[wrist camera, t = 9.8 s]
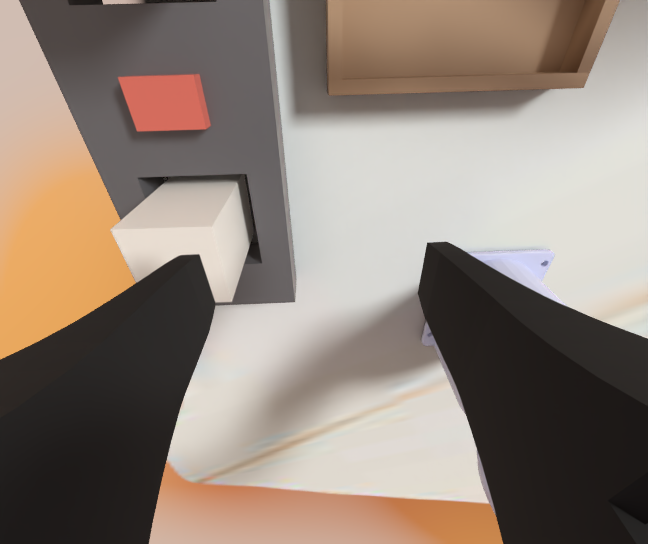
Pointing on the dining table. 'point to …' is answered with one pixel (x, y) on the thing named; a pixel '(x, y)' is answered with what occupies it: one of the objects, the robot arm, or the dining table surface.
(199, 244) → the white plug
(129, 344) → the robot arm
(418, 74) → the tray
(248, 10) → the power strip
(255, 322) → the dining table surface
